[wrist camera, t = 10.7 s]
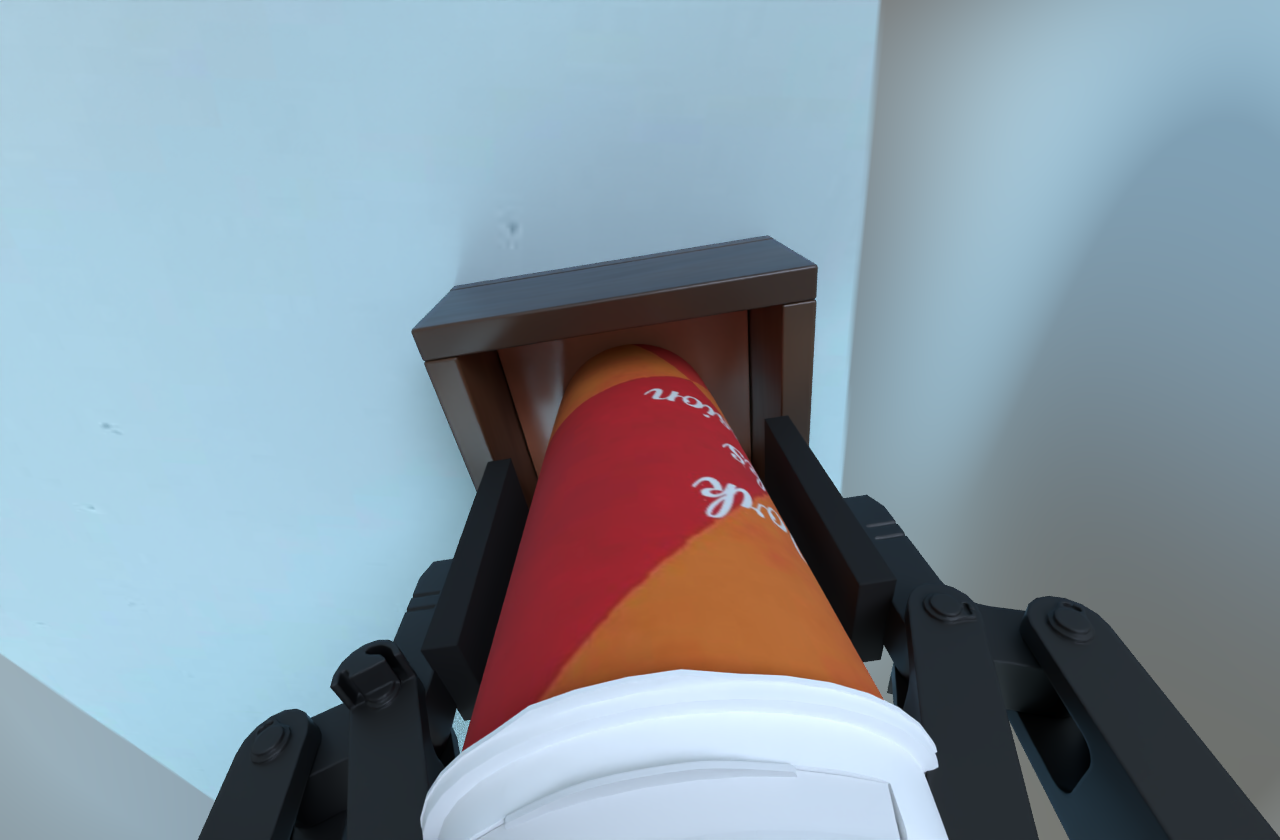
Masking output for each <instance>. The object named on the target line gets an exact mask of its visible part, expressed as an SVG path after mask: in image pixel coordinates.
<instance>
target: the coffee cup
mask: <svg viewBox="0 0 1280 840" xmlns="http://www.w3.org/2000/svg"><path fill="white" fill-rule="evenodd" d="M936 752H937V749H936V746H935V744H934V742H933V740H932V739H931V738H930V736H929V735H928V734H927V732H926V731H925V730H924V728H923V727H922V726H921V724H920V723H919V722H918V721H916V720H915V719H914V718H912V717H911V716H910V715H908V714H907V713H906V712H904V711H903V710H902V709H900V708H899V707H897V706H895V705H893V704H891V703H888V702H886V701H884V699H883V697H882V696H881V694H880V692H879V690H878V689H877V687H876V685H875V684H874V682H873V680H872V678H871V676H870V675H869V673H868V671H867V669H866V667H865V666H864V664H863V662H862V660H861V658H860V657H859V655H858V653H857V651H856V649H855V648H854V646H853V644H852V642H851V641H850V639H849V637H848V635H847V633H846V632H845V630H844V628H843V626H842V625H841V623H840V621H839V619H838V617H837V616H836V614H835V612H834V610H833V609H832V607H831V605H830V603H829V601H828V600H827V598H826V596H825V594H824V593H823V591H822V589H821V587H820V585H819V584H818V582H817V580H816V578H815V577H814V575H813V573H812V571H811V569H810V568H809V566H808V564H807V562H806V560H805V559H804V557H803V555H802V553H801V552H800V550H799V548H798V546H797V544H796V543H795V541H794V539H793V537H792V536H791V534H790V532H789V530H788V528H787V527H786V525H785V523H784V521H783V519H782V518H781V516H780V514H779V512H778V511H777V509H776V507H775V505H774V503H773V502H772V500H771V498H770V496H769V495H768V493H767V491H766V489H765V487H764V486H763V484H762V482H761V480H760V479H759V477H758V475H757V473H756V471H755V470H754V468H753V466H752V464H751V463H750V461H749V459H748V457H747V456H746V454H745V452H744V450H743V449H742V447H741V445H740V443H739V441H738V440H737V438H736V436H735V434H734V433H733V431H732V429H731V427H730V426H729V424H728V422H727V420H726V419H725V417H724V415H723V414H722V412H721V410H720V408H719V407H718V405H717V403H716V401H715V400H714V398H713V396H712V395H711V393H710V392H709V390H708V388H707V387H706V385H705V384H704V382H703V380H702V379H701V378H700V376H699V375H698V373H697V372H696V371H695V370H694V369H693V368H692V366H691V365H689V364H688V363H687V362H686V361H685V360H684V359H682V358H681V357H680V356H678V355H677V354H675V353H673V352H671V351H669V350H666V349H664V348H661V347H657V346H652V345H646V344H628V345H622V346H617V347H613V348H610V349H608V350H605V351H603V352H601V353H599V354H597V355H595V356H594V357H592V358H591V359H589V360H588V361H587V362H586V363H584V364H583V365H582V366H581V367H580V368H579V369H578V371H577V372H576V373H575V374H574V376H573V377H572V379H571V380H570V382H569V384H568V386H567V388H566V390H565V393H564V395H563V398H562V401H561V404H560V407H559V410H558V413H557V416H556V419H555V423H554V426H553V429H552V433H551V436H550V440H549V443H548V447H547V450H546V453H545V457H544V460H543V464H542V467H541V471H540V474H539V478H538V482H537V485H536V489H535V492H534V496H533V499H532V503H531V506H530V510H529V513H528V517H527V520H526V524H525V528H524V531H523V535H522V538H521V542H520V545H519V549H518V553H517V556H516V560H515V563H514V567H513V571H512V574H511V578H510V581H509V585H508V588H507V592H506V596H505V599H504V603H503V606H502V610H501V614H500V617H499V621H498V624H497V628H496V631H495V635H494V638H493V642H492V646H491V649H490V653H489V656H488V660H487V663H486V667H485V671H484V674H483V678H482V681H481V685H480V688H479V692H478V696H477V699H476V703H475V706H474V710H473V713H472V717H471V720H470V724H469V728H468V731H467V735H466V738H465V742H464V745H463V749H462V752H461V753H460V754H459V755H458V756H457V757H456V758H455V759H454V760H453V761H452V762H451V763H450V764H449V765H448V766H447V767H446V768H445V769H444V770H442V771H441V772H440V774H439V776H438V777H437V779H436V780H435V782H434V783H433V785H432V786H431V788H430V789H429V791H428V792H427V795H426V799H425V803H424V806H423V810H422V814H421V817H420V822H421V828H422V832H423V840H949V839H948V837H947V834H946V831H945V828H944V825H943V823H942V820H941V817H940V814H939V812H938V809H937V806H936V804H935V801H934V798H933V796H932V793H931V790H930V788H929V785H928V782H927V780H926V777H925V774H926V772H927V771H930V770H934V769H936V768H938V760H937V757H936V754H935V753H936Z"/></svg>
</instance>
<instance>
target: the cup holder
mask: <svg viewBox="0 0 1280 840" xmlns="http://www.w3.org/2000/svg"><path fill="white" fill-rule="evenodd" d="M817 272H818V267H817V265H816V264H815V263H813V262H811V261H810V260H808V259H806V258H805V257H803V256H801V255H800V254H798V253H796V252H795V251H793V250H791V249H790V248H788V247H786V246H785V245H783V244H781V243H780V242H778V241H776V240H775V239H773V238H772V237H770V236H762V237H756V238H750V239H743V240H737V241H731V242H725V243H719V244H712V245H706V246H700V247H694V248H688V249H681V250H675V251H669V252H663V253H657V254H651V255H644V256H638V257H632V258H626V259H620V260H613V261H607V262H601V263H595V264H589V265H582V266H576V267H570V268H564V269H558V270H551V271H545V272H539V273H533V274H527V275H521V276H514V277H508V278H502V279H496V280H490V281H483V282H477V283H471V284H465V285H459V286H454V287H453V288H452V289H451V290H450V292H449V293H448V294H447V295H446V296H445V297H444V298H443V299H442V300H441V301H440V302H439V303H438V304H437V305H436V306H435V307H434V308H433V309H432V310H431V311H430V312H429V313H428V314H427V315H426V316H425V317H424V318H423V319H422V320H421V321H420V322H419V323H418V324H417V325H416V326H415V327H414V328H413V329H412V335H413V337H414V340H415V342H416V345H417V347H418V350H419V352H420V354H421V357H422V359H423V360H424V361H425V362H424V365H425V367H426V370H427V372H428V374H429V377H430V379H431V382H432V384H433V387H434V389H435V391H436V394H437V396H438V399H439V401H440V404H441V406H442V408H443V411H444V413H445V416H446V418H447V421H448V423H449V425H450V428H451V430H452V433H453V435H454V438H455V440H456V442H457V445H458V447H459V450H460V452H461V455H462V457H463V459H464V462H465V464H466V467H467V469H468V472H469V474H470V476H471V479H472V481H473V484H474V486H475V489H476V491H478V488H479V485H480V482H481V479H482V477H483V474H484V471H485V468H486V465H487V463H488V462H490V461H496V460H503V459H509V458H511V460H512V463H513V466H514V468H515V471H516V474H517V477H518V480H519V483H520V486H521V489H522V492H523V494H524V497H525V500H526V503H527V506H528V509H529V510H530V506H531V503H532V499H533V496H534V492H535V489H536V485H537V482H538V478H539V474H540V471H541V467H542V464H543V460H544V457H545V453H546V450H547V447H548V443H549V440H550V436H551V433H552V429H553V426H554V423H555V419H556V416H557V413H558V410H559V407H560V404H561V401H562V398H563V395H564V393H565V390H566V388H567V386H568V384H569V382H570V380H571V379H572V377H573V376H574V374H575V373H576V372H577V371H578V369H579V368H580V367H581V366H582V365H583V364H584V363H586V362H587V361H588V360H589V359H591V358H592V357H594V356H595V355H597V354H599V353H601V352H603V351H605V350H608V349H610V348H613V347H617V346H622V345H628V344H646V345H652V346H657V347H661V348H664V349H666V350H669V351H671V352H673V353H675V354H677V355H678V356H680V357H681V358H682V359H684V360H685V361H686V362H687V363H688V364H689V365H691V366H692V368H693V369H694V370H695V371H696V372H697V373H698V375H699V376H700V378H701V379H702V380H703V382H704V384H705V385H706V387H707V388H708V390H709V392H710V393H711V395H712V396H713V398H714V400H715V401H716V403H717V405H718V407H719V408H720V410H721V412H722V414H723V415H724V417H725V419H726V420H727V422H728V424H729V426H730V427H731V429H732V431H733V433H734V434H735V436H736V438H737V440H738V441H739V443H740V445H741V447H742V449H743V450H744V452H745V454H746V456H747V457H748V459H749V461H750V463H751V464H752V466H753V468H754V470H755V471H756V473H757V475H758V477H759V479H760V480H761V482H762V484H763V486H764V487H765V430H764V419H767V418H773V417H780V416H786V415H788V416H789V417H790V419H791V420H792V422H793V423H794V425H795V426H796V428H797V429H798V431H799V432H800V434H801V436H802V437H803V439H804V440H805V442H806V443H807V445H808V446H809V434H810V415H811V396H812V377H813V357H814V338H815V319H816V300H815V298H816V291H817ZM765 489H766V487H765ZM766 491H767V489H766ZM767 493H768V491H767ZM768 495H769V493H768ZM769 496H770V495H769ZM770 498H771V497H770Z"/></svg>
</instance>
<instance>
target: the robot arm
mask: <svg viewBox="0 0 1280 840" xmlns="http://www.w3.org/2000/svg"><path fill="white" fill-rule="evenodd" d="M764 430H765V487H766V489H767V491H768V493H769V495H770V497H771V500H772V502H773V503H774V505H775V507H776V509H777V511H778V512H779V514H780V516H781V518H782V519H783V521H784V523H785V525H786V527H787V528H788V530H789V532H790V534H791V536H792V537H793V539H794V541H795V543H796V544H797V546H798V548H799V550H800V552H801V553H802V555H803V557H804V559H805V560H806V562H807V564H808V566H809V568H810V569H811V571H812V573H813V575H814V577H815V578H816V580H817V582H818V584H819V585H820V587H821V589H822V591H823V593H824V594H825V596H826V598H827V600H828V601H829V603H830V605H831V607H832V609H833V610H834V612H835V614H836V616H837V617H838V619H839V621H840V623H841V625H842V626H843V628H844V630H845V632H846V633H847V635H848V637H849V639H850V641H851V642H852V644H853V646H854V648H855V649H856V651H857V653H858V655H859V657H860V658H861V660H862V662H868V661H874V660H880V659H881V656H882V651H883V645H884V646H885V648H886V649H887V651H888V653H889V655H890V657H891V658H892V660H893V662H894V663H893V667H892V672H891V676H890V681H889V686H888V691H887V693H890V694H893V703H894V705H895V706H897V707H899V708H900V709H902V710H903V711H904V712H906V713H907V714H908V715H910V716H911V717H912V718H914V719H915V720H916V721H918V722H919V723H920V724H921V726H922V727H923V728H924V730H925V731H926V732H927V734H928V735H929V736H930V738H931V739H932V740H933V742H934V744H935V746H936V749H937V752H936V753H935V754H936V757H937V760H938V768H936V769H934V770H930V771H927V772H926V774H925V777H926V780H927V782H928V785H929V788H930V790H931V793H932V796H933V798H934V801H935V804H936V806H937V809H938V812H939V814H940V817H941V820H942V823H943V825H944V828H945V831H946V834H947V837H948V839H949V840H1039V838H1038V834H1037V830H1036V826H1035V822H1034V818H1033V814H1032V811H1031V807H1030V803H1029V799H1028V795H1027V791H1026V787H1025V783H1024V779H1023V775H1022V771H1021V767H1020V763H1019V759H1018V755H1017V751H1016V747H1015V743H1014V740H1013V735H1012V731H1011V727H1010V723H1011V725H1012V727H1013V729H1014V731H1015V733H1016V735H1017V737H1018V739H1019V741H1020V743H1021V745H1022V747H1023V749H1024V751H1025V753H1026V755H1027V756H1028V759H1029V760H1030V763H1031V764H1032V767H1033V768H1034V770H1035V772H1036V774H1037V776H1038V778H1039V780H1040V782H1041V784H1042V786H1043V788H1044V790H1045V792H1046V794H1047V796H1048V798H1049V800H1050V802H1051V804H1052V806H1053V808H1054V810H1055V812H1056V814H1057V816H1058V818H1059V820H1060V822H1061V824H1062V825H1063V828H1064V830H1065V831H1066V834H1067V836H1068V837H1069V839H1070V840H1280V837H1279V836H1278V835H1277V834H1276V832H1275V831H1274V830H1273V829H1272V828H1271V826H1270V825H1269V824H1268V823H1267V821H1266V820H1265V819H1264V817H1263V816H1262V815H1261V814H1260V812H1259V811H1258V810H1257V809H1256V807H1255V806H1254V805H1253V804H1252V803H1251V801H1250V800H1249V799H1248V798H1247V796H1246V795H1245V794H1244V792H1243V791H1242V790H1241V789H1240V787H1239V786H1238V785H1237V784H1236V782H1235V781H1234V780H1233V779H1232V778H1231V776H1230V775H1229V774H1228V773H1227V771H1226V770H1225V769H1224V768H1223V767H1222V765H1221V764H1220V763H1219V761H1218V760H1217V759H1216V758H1215V756H1214V755H1213V754H1212V753H1211V751H1210V750H1209V749H1208V748H1207V746H1206V745H1205V744H1204V743H1203V741H1202V740H1201V739H1200V738H1199V736H1198V735H1197V734H1196V733H1195V731H1194V730H1193V729H1192V728H1191V727H1190V725H1189V724H1188V723H1187V721H1186V720H1185V719H1184V718H1183V717H1182V715H1181V714H1180V713H1179V711H1178V710H1177V709H1176V708H1175V707H1174V705H1173V704H1172V703H1171V702H1170V700H1169V699H1168V698H1167V696H1166V695H1165V694H1164V693H1163V691H1162V690H1161V689H1160V688H1159V687H1158V685H1157V684H1156V683H1155V682H1154V680H1153V679H1152V678H1151V677H1150V675H1149V674H1148V673H1147V672H1146V670H1145V669H1144V668H1143V667H1142V666H1141V664H1140V663H1139V662H1138V660H1137V659H1136V658H1135V657H1134V655H1133V654H1132V653H1131V652H1130V650H1129V649H1128V648H1127V647H1126V645H1125V644H1124V643H1123V642H1122V640H1121V639H1120V638H1119V637H1118V635H1117V634H1116V633H1115V632H1114V630H1113V629H1112V628H1111V627H1110V626H1109V624H1108V623H1106V622H1105V621H1104V620H1103V619H1102V618H1101V617H1100V616H1099V615H1098V614H1097V613H1095V612H1093V611H1092V610H1090V609H1088V608H1087V607H1085V606H1083V605H1082V604H1079V603H1077V602H1074V601H1071V600H1068V599H1066V598H1060V597H1052V596H1046V597H1040V598H1036V599H1035V600H1033V601H1032V602H1031V603H1029V604H1028V607H1027V609H1026V611H1022V610H1014V609H1006V608H998V607H991V606H986V605H981V604H977V603H974V602H973V601H972V600H971V599H970V598H969V597H968V596H967V595H966V594H964V593H962V592H961V591H959V590H957V589H955V588H953V587H950V586H947V585H944V584H943V582H942V581H941V580H940V579H939V578H938V576H937V575H936V574H935V572H934V571H933V570H932V569H931V567H930V566H929V565H928V563H927V562H926V561H925V559H924V558H923V557H922V555H921V554H920V553H919V551H918V550H917V549H916V548H915V546H914V545H913V544H912V542H911V541H910V540H909V539H908V537H907V536H905V534H904V532H903V530H902V529H901V528H900V526H899V525H898V524H896V523H895V520H894V519H893V517H892V516H891V515H890V514H889V512H888V511H887V509H886V508H885V507H884V506H883V505H881V504H880V503H878V502H877V501H875V500H874V499H872V498H871V497H869V496H868V495H863V496H856V497H849V498H843V497H842V496H841V494H840V493H839V491H838V490H837V488H836V487H835V485H834V484H833V482H832V481H831V479H830V478H829V476H828V475H827V473H826V472H825V470H824V469H823V467H822V466H821V464H820V463H819V461H818V460H817V458H816V457H815V455H814V454H813V452H812V451H811V449H810V448H809V446H808V445H807V443H806V442H805V440H804V439H803V437H802V436H801V434H800V432H799V431H798V429H797V428H796V426H795V425H794V423H793V422H792V420H791V419H790V417H789V416H788V415H786V416H780V417H773V418H767V419H764ZM528 513H529V509H528V506H527V503H526V500H525V497H524V494H523V492H522V489H521V486H520V483H519V480H518V477H517V474H516V471H515V468H514V466H513V463H512V460H511V458H509V459H503V460H496V461H490V462H488V463H487V465H486V468H485V471H484V474H483V477H482V479H481V482H480V485H479V488H478V491H477V493H476V496H475V499H474V502H473V505H472V507H471V510H470V513H469V516H468V519H467V521H466V524H465V527H464V530H463V533H462V535H461V538H460V541H459V544H458V547H457V549H456V552H455V555H454V558H453V559H449V560H443V561H436V562H433V563H432V564H431V565H430V567H429V568H428V569H427V570H426V571H425V572H424V574H423V575H422V576H421V577H420V579H419V581H418V583H417V586H416V588H415V591H414V593H413V598H411V600H410V603H409V605H408V607H407V613H405V615H404V617H403V619H402V622H401V624H400V627H399V629H398V631H397V634H396V636H395V639H394V641H393V642H392V641H390V640H377V641H374V642H371V643H368V644H365V645H364V646H362V647H360V648H359V649H357V650H355V651H354V652H352V653H351V654H350V655H349V656H348V657H347V658H346V659H345V660H344V661H343V662H342V663H341V665H340V666H339V668H338V669H337V671H336V672H335V674H334V675H333V679H332V683H331V686H330V687H331V689H332V690H333V691H334V692H335V693H336V695H337V696H338V697H339V698H340V699H341V700H342V702H343V704H341V705H338V706H336V707H334V708H332V709H329V710H327V711H325V712H323V713H320V714H318V715H316V716H314V717H312V718H310V717H309V716H308V715H307V714H306V713H305V712H303V711H301V710H298V709H291V710H284V711H282V712H280V713H278V714H276V715H273V716H271V717H270V718H268V719H267V720H266V721H264V722H263V723H262V724H260V725H259V726H258V727H256V728H255V730H254V731H253V732H252V733H251V734H250V735H249V736H248V737H247V738H246V739H245V740H244V742H243V744H242V745H241V747H240V748H239V750H238V752H237V753H236V755H235V757H234V760H233V762H232V764H231V766H230V769H229V771H228V773H227V775H226V778H225V780H224V782H223V784H222V787H221V789H220V791H219V793H218V796H217V798H216V800H215V802H214V805H213V807H212V809H211V811H210V814H209V816H208V818H207V820H206V823H205V825H204V827H203V829H202V832H201V834H200V836H199V838H198V840H423V832H422V828H421V822H420V817H421V814H422V810H423V806H424V803H425V799H426V795H427V792H428V791H429V789H430V788H431V786H432V785H433V783H434V782H435V780H436V779H437V777H438V776H439V774H440V772H441V771H442V770H444V769H445V768H446V767H447V766H448V765H449V764H450V763H451V762H452V761H453V760H454V759H455V758H456V757H457V756H458V755H459V754H460V751H459V746H458V740H457V736H456V734H455V732H454V730H453V728H452V724H453V720H454V716H455V712H456V708H457V709H458V711H459V713H460V714H461V716H462V717H463V719H464V721H466V720H471V717H472V713H473V710H474V706H475V703H476V699H477V696H478V692H479V688H480V685H481V681H482V678H483V674H484V671H485V667H486V663H487V660H488V656H489V653H490V649H491V646H492V642H493V638H494V635H495V631H496V628H497V624H498V621H499V617H500V614H501V610H502V606H503V603H504V599H505V596H506V592H507V588H508V585H509V581H510V578H511V574H512V571H513V567H514V563H515V560H516V556H517V553H518V549H519V545H520V542H521V538H522V535H523V531H524V528H525V524H526V520H527V517H528ZM1008 719H1009V720H1008ZM1009 721H1010V723H1009Z"/></svg>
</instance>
